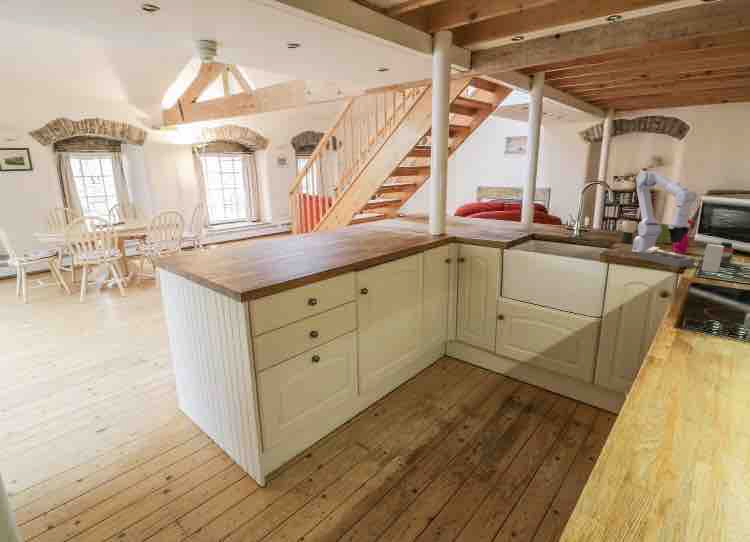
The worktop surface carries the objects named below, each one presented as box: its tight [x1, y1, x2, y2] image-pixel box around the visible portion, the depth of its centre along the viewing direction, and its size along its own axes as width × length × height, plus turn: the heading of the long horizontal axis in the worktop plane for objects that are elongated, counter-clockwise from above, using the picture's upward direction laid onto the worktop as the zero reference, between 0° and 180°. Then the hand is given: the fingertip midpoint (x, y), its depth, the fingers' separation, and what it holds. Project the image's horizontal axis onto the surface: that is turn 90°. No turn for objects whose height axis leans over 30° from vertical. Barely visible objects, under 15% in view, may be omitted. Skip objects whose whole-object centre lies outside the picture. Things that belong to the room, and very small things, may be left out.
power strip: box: [636, 251, 696, 269], centre depth 204 cm, size 20×12×4 cm, turn 25°
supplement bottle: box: [720, 241, 734, 268], centre depth 199 cm, size 6×6×11 cm
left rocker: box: [646, 246, 660, 253], centre depth 208 cm, size 3×6×1 cm, turn 115°
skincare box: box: [701, 243, 724, 273], centre depth 188 cm, size 6×4×12 cm
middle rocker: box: [657, 248, 670, 255], centre depth 203 cm, size 3×6×1 cm, turn 115°
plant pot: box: [655, 223, 670, 245], centre depth 253 cm, size 12×12×11 cm
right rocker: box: [668, 251, 683, 257], centre depth 198 cm, size 3×6×1 cm, turn 115°
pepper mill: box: [672, 217, 693, 254], centre depth 225 cm, size 7×7×20 cm
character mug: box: [618, 220, 639, 244], centre depth 250 cm, size 11×7×13 cm, turn 80°
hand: (675, 242), depth 205 cm, fingers open, 3 cm apart
